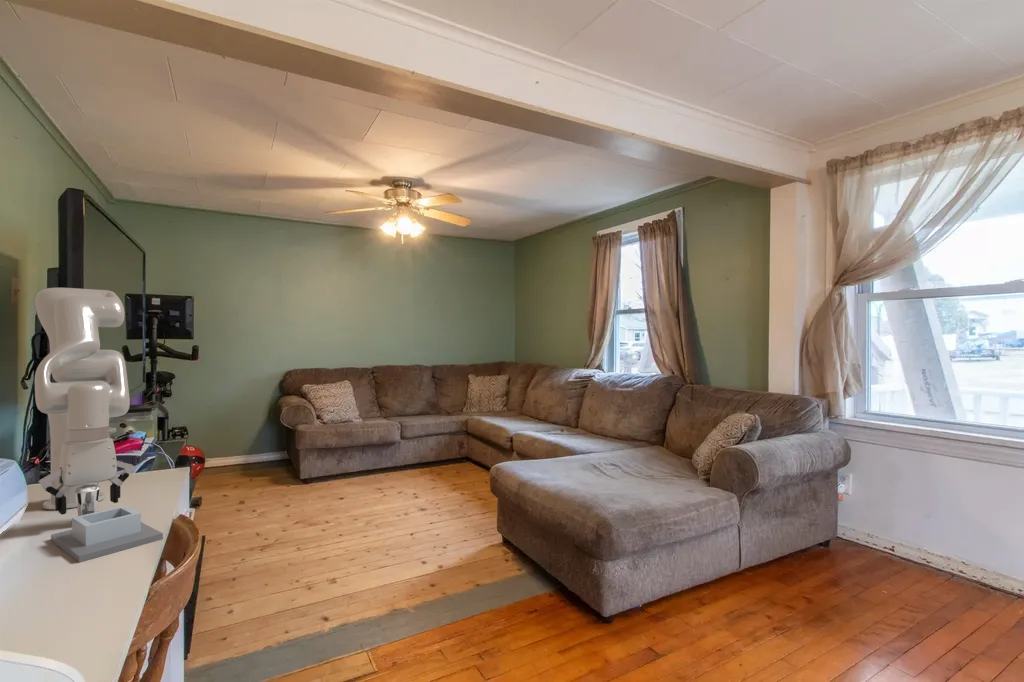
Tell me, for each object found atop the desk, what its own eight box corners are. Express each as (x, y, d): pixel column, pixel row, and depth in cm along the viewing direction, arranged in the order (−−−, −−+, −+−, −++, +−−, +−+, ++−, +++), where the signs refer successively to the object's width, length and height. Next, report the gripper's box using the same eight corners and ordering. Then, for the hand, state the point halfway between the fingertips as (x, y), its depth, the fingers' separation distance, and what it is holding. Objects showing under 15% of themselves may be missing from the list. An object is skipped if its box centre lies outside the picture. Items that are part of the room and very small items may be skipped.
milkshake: (88, 527, 114) (88, 484, 114) (69, 526, 115) (69, 483, 116) (107, 520, 119) (107, 479, 119) (90, 519, 120) (89, 478, 120)
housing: (51, 540, 107) (50, 516, 107) (129, 520, 119) (128, 499, 119) (79, 562, 96) (79, 535, 96) (162, 538, 107) (162, 514, 107)
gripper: (127, 428, 127) (127, 495, 126) (34, 439, 112) (35, 514, 112) (138, 431, 122) (138, 500, 122) (43, 443, 108) (44, 521, 108)
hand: (89, 507), depth 117 cm, fingers open, 9 cm apart
